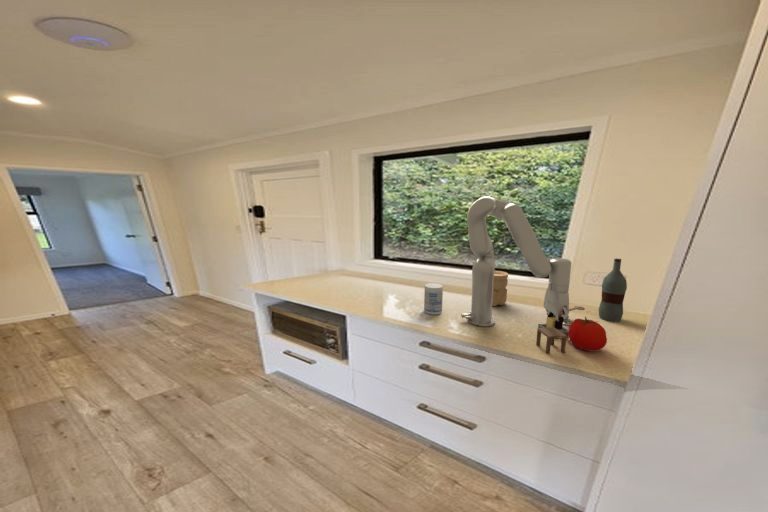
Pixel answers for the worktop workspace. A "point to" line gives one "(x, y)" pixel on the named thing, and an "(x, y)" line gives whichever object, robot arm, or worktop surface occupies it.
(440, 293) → the supplement tub
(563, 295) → the robot arm
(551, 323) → the block
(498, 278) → the container
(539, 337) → the small wooden table
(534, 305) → the worktop surface
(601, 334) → the tomato
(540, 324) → the dish
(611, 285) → the bottle
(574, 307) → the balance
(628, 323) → the worktop surface
